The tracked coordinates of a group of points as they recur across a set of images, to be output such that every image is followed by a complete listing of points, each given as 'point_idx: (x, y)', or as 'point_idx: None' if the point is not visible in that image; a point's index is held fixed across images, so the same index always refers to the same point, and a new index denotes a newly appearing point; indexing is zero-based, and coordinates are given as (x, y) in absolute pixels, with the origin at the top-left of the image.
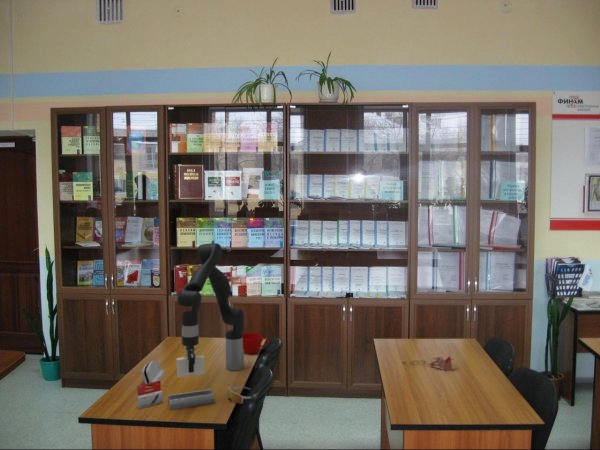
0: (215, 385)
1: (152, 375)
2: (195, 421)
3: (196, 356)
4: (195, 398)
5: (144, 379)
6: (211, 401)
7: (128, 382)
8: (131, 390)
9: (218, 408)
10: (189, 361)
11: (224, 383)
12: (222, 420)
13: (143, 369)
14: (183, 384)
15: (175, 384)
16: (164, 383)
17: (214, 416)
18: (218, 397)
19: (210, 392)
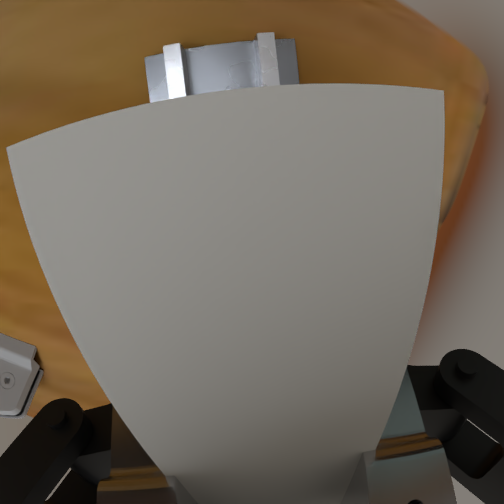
0: (26, 53)
1: (5, 376)
2: (456, 175)
3: (200, 434)
4: None
5: (33, 394)
6: (294, 59)
7: (33, 408)
8: (87, 409)
9: (366, 36)
10: (489, 451)
11: (16, 10)
12: (478, 62)
13: (7, 417)
14: (5, 236)
15: (9, 273)
16: (9, 315)
17: (442, 81)
18: (205, 14)
19: (183, 56)
